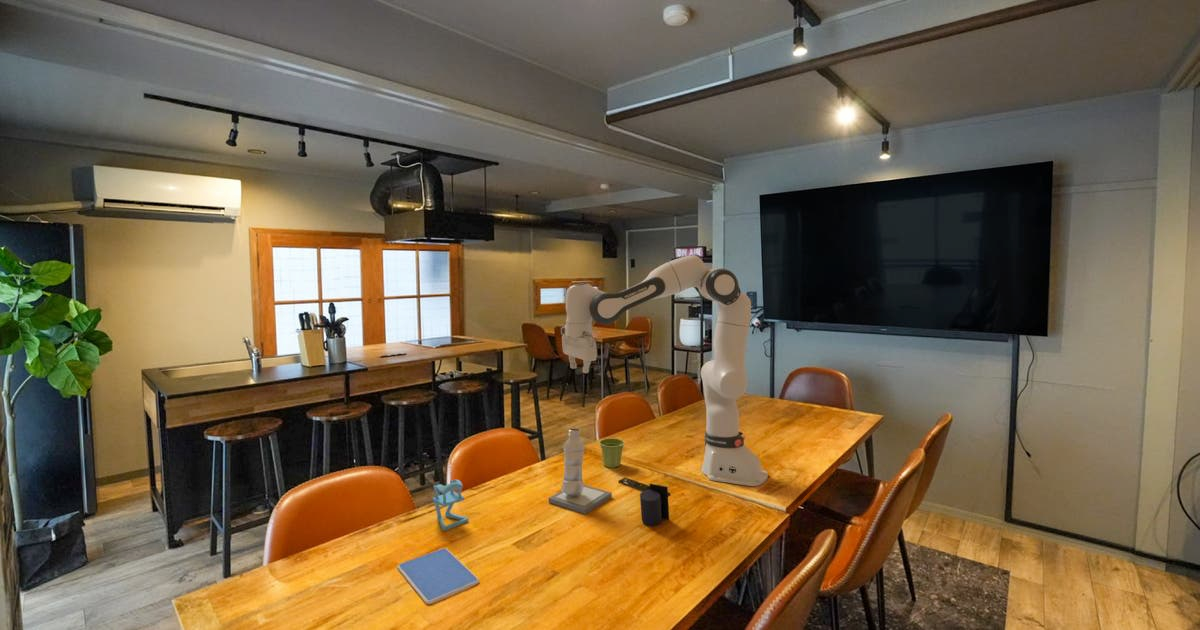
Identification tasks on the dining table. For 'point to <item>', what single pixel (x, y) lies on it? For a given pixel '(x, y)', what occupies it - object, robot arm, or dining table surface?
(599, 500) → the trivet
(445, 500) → the chair
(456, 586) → the tablet computer
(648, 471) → the dining table surface
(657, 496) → the speaker
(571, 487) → the plastic bottle
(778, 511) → the dining table surface
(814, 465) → the dining table surface
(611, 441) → the plant pot
